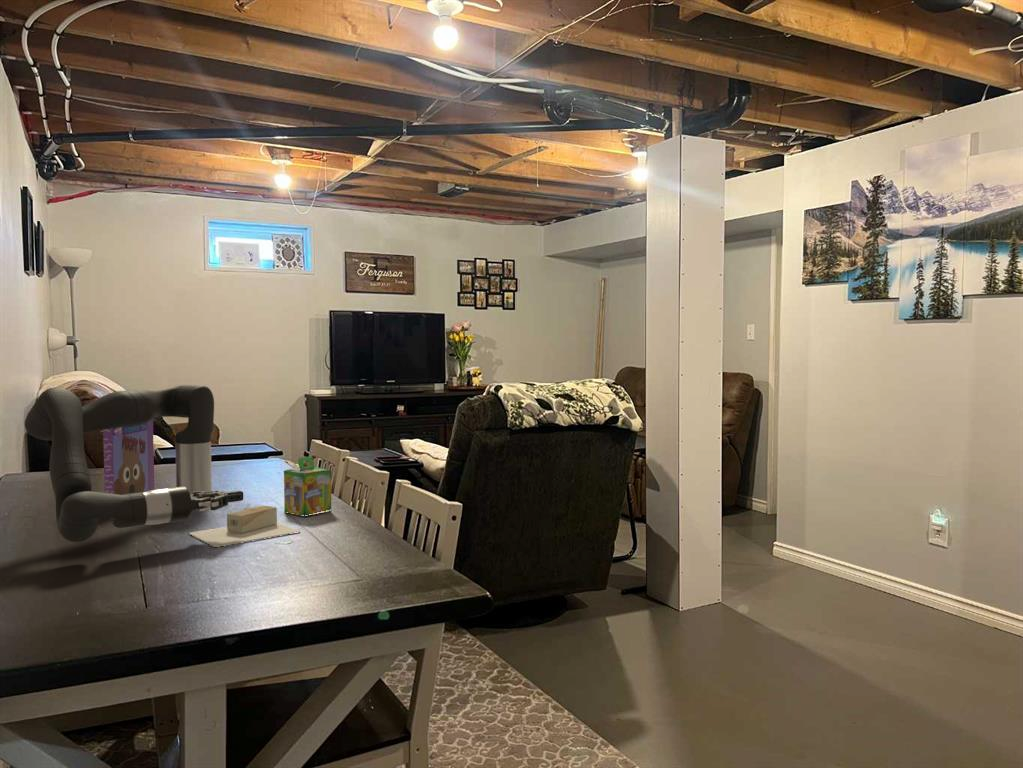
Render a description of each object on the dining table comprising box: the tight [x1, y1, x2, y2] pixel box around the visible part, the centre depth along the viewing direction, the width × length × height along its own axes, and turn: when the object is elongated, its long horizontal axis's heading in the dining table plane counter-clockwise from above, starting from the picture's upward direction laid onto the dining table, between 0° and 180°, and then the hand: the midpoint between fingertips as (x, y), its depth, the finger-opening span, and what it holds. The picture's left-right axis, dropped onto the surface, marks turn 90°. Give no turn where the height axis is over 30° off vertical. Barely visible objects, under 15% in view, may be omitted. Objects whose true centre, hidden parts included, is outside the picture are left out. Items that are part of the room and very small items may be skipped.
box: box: [226, 505, 278, 533], centre depth 179 cm, size 5×4×11 cm
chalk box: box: [283, 455, 332, 516], centre depth 197 cm, size 9×9×15 cm
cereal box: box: [102, 419, 155, 495], centre depth 210 cm, size 17×5×24 cm, turn 179°
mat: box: [188, 522, 300, 548], centre depth 175 cm, size 16×20×1 cm
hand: (241, 495), depth 174 cm, fingers closed
